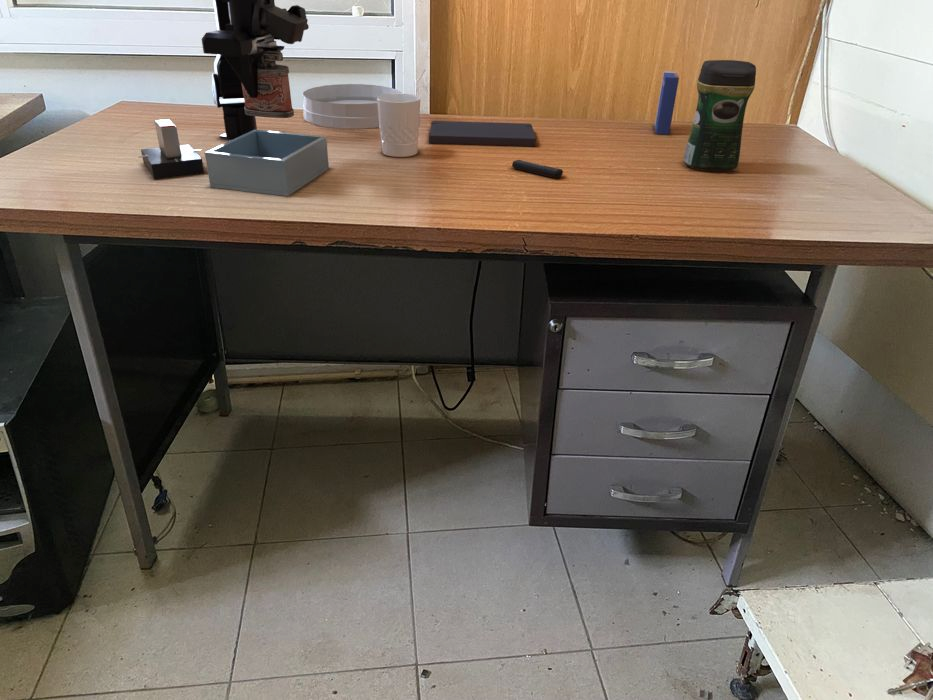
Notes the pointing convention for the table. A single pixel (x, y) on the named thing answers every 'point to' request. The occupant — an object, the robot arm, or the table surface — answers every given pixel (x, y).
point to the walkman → (666, 102)
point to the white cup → (399, 123)
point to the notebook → (482, 133)
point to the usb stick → (537, 168)
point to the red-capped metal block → (168, 138)
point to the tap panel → (172, 163)
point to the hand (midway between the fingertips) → (258, 95)
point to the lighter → (270, 89)
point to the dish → (344, 105)
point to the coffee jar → (719, 115)
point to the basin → (267, 162)
